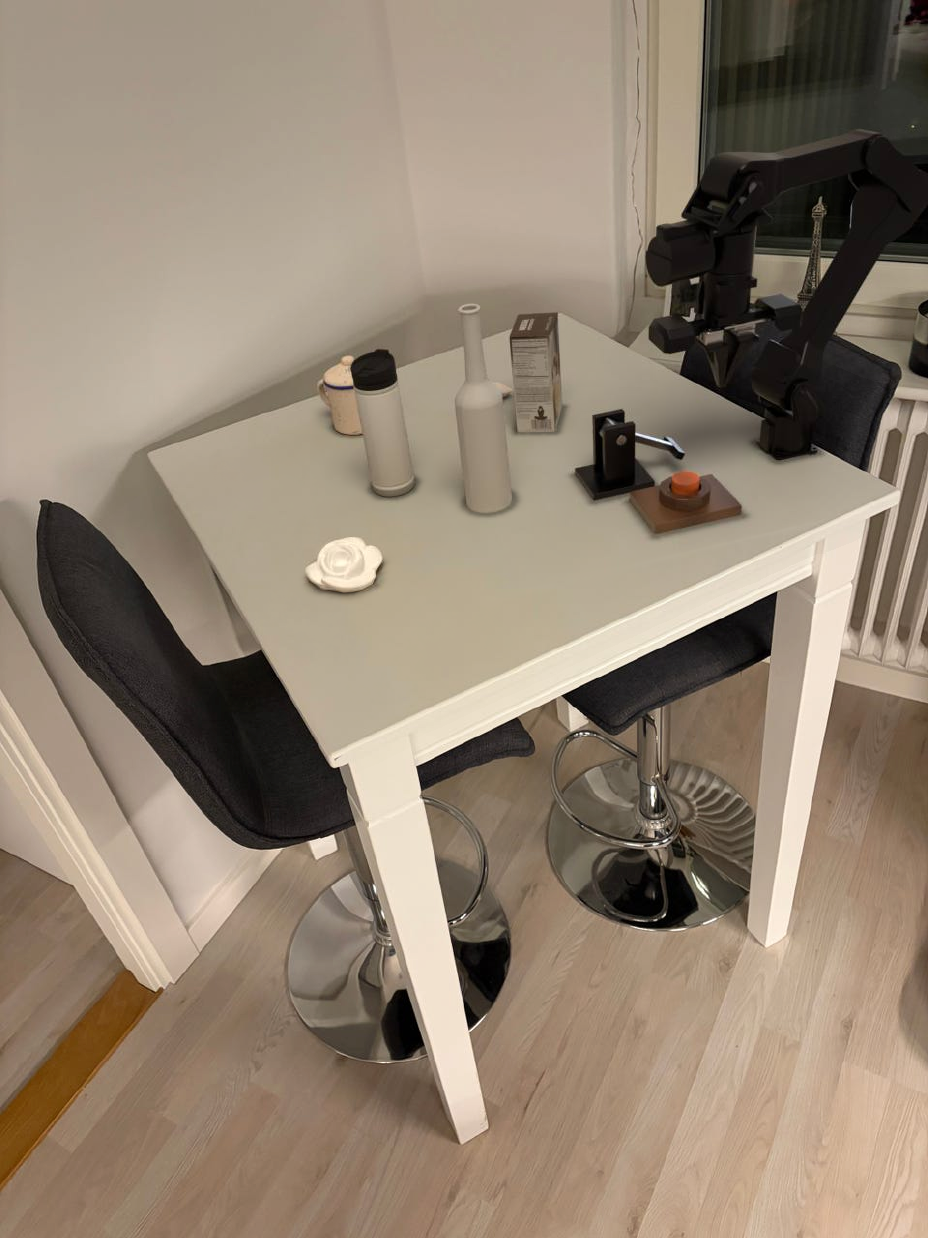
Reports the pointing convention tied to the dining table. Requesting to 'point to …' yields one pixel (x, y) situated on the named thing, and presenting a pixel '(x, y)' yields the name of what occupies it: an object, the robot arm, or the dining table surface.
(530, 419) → the coffee box
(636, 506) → the button block
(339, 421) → the teacup with lid
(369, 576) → the rose
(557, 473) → the dining table surface
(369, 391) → the travel mug
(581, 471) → the lever bracket
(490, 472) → the bottle
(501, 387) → the macaroon
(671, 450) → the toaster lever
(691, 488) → the button
